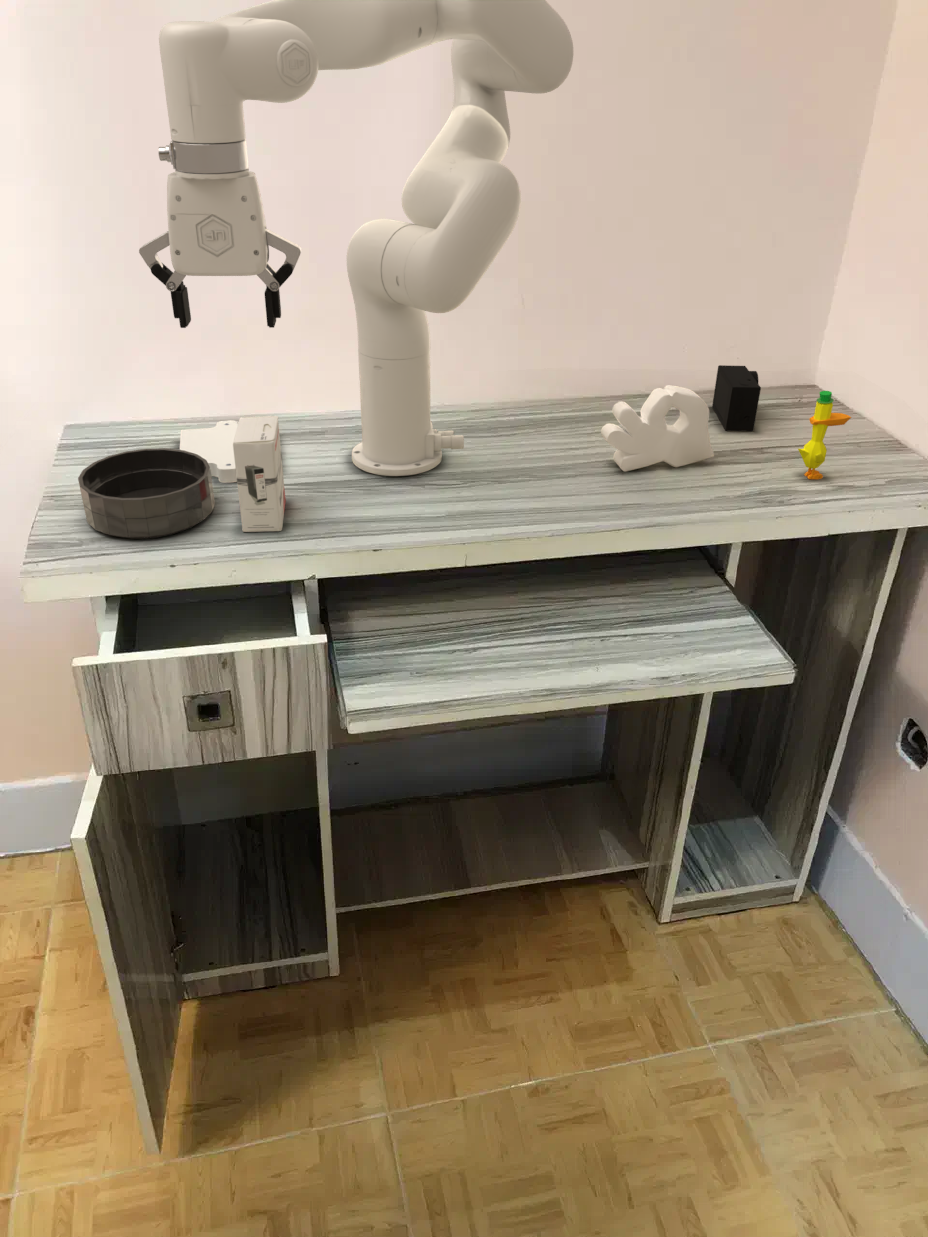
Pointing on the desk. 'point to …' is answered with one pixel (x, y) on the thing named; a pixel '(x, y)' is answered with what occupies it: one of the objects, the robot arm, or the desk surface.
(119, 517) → the bowl
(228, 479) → the mounting plate
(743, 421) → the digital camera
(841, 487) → the desk surface
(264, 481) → the ink box
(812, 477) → the toy figure
